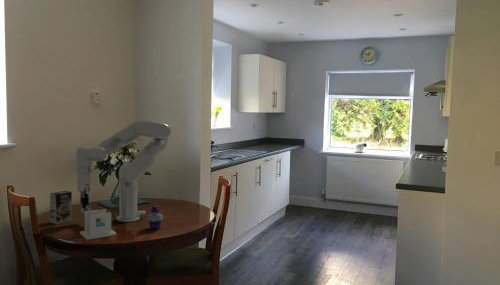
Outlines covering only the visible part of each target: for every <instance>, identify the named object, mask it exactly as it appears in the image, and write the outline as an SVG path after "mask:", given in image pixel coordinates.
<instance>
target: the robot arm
mask: <svg viewBox="0 0 500 285" xmlns="http://www.w3.org/2000/svg"><path fill="white" fill-rule="evenodd" d="M171 133H172V132H171V128H170V126H169V125H168V124H167V123H163V122H157V121H156V122H155V121H149V120H145V119H137V120H134V121H133V122H132V123H130V124H128V125H126V127H124V128H122V129H121V130H119V131H118V132H115V133H114V134H113V135H111V136H109V137H108V138H107V139H105V140H103V141H101V142H100V143H99V144H97V145H95V146H94V147H89V146H82V147H77V148H76V152H75V153H76V154H75V156H76V158H75V159H76V163H75V164H76V175H77V177H76V178H77V179H76V181H77V183H76V190H77V191H78V192H80V194H79V195H80V197H79V198H80V199H79V200H80V202H79V203H80V205H81V206H82V205H88V206H89V204H90V196H89V194H90V192H91V191H92V190H91V189H92V187H91V186H92V185H91V184H92V183H91V180H92V179H91V174H92V173H93V170H92V169H93V168H92V165H93V164H92V162H93V161H94V162H102V161H104V160H106V159H107V156H108V155H109V154H111V153H113V152H114V151H115V150H118V149H119V148H124V147H125V146H128V145H129V144H130V143H132V142H134V141H135V140H137V139H138V138H140V137H141V136H142V137H143V136H144V137H149V138H152V139H151V140H150V141H149V142H148V143H147V144H146V145H145V146H144V147H143V148H141V149H140V150H139V151H138V152H137V153H136V154H135V155H134V158H133V159H132V160H131V161H130V162H125V163H123V164H122V165H120V167H119V170H118V178H119V180H118V181H119V215H118V216H116V221H118V222H123V223H132V222H136V221H139V220H140V219H141V215H146V214H147V212H146V210H138V180H139V179H140V178H141V177H142V176H143V175H144V174H145V173H146V172H147V171H149V170H150V169H151V168H152V166H153V165H154V164H155V159H156V158H157V157H158V156H159V155H160V154H161V153H162V152H163V151H164V150H165V148H166V147H167V144H168V140H169V137H170V135H171ZM84 191H86V192H84ZM82 192H83V198H82V197H81V193H82ZM84 193H85V194H84Z"/></svg>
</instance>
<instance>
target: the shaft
mask: <svg viewBox="0 0 500 285" xmlns="http://www.w3.org/2000/svg"><path fill="white" fill-rule="evenodd" d="M84 192H86V191H84ZM84 194H85V193H84ZM80 197H82V198H83V192H82V193H81V196H80ZM85 211H93V209H91V208H90V207H89V205H82V204H81V206H80V213H81V214H82V215H83V216H85ZM96 222H99V218H96Z"/></svg>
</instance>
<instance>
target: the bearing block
mask: <svg viewBox="0 0 500 285" xmlns="http://www.w3.org/2000/svg"><path fill="white" fill-rule="evenodd" d="M92 210H93V209H92ZM96 218H98V219H99V221H96ZM96 223H104V224H105V226H98V227H96ZM79 234H80V235H81V236H82V237H83V238H84V239H85V240H86V241H89V240H94V239H95V240H96V239H99V238H105V237H106V238H108V237H111V236H117V232H116V231H115V230H113V229H112V212H107V209H106V208H102V209H95V210H93V211H85V215H84V230H81V231H79Z"/></svg>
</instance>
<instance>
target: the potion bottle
mask: <svg viewBox="0 0 500 285" xmlns="http://www.w3.org/2000/svg"><path fill="white" fill-rule="evenodd" d="M150 212H151V213H149V214H148V215H146V218H147V222H148V226H149V230H150V231H158V230H161V225H162V222H163V219H164V214H162V213H159V212H160V208H159V205H152V206H151V208H150Z"/></svg>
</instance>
